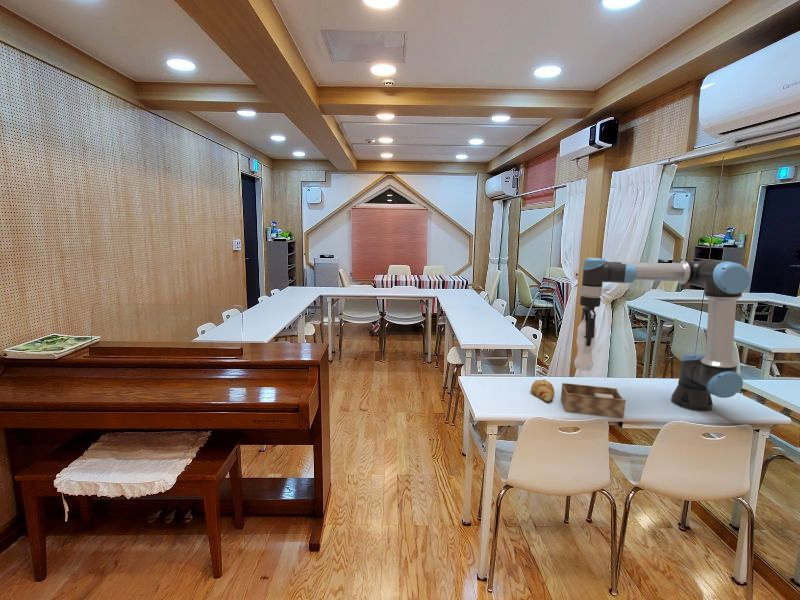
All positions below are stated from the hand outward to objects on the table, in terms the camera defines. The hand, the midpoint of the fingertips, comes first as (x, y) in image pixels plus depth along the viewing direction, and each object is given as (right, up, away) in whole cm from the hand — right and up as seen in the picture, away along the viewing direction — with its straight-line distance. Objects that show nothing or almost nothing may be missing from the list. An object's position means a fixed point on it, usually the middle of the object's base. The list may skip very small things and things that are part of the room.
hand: (584, 350), depth 171 cm
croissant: (-11, -23, +20) cm, 32 cm away
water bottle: (0, -8, +1) cm, 8 cm away
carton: (+9, -25, +2) cm, 27 cm away
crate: (+4, -26, +3) cm, 26 cm away
